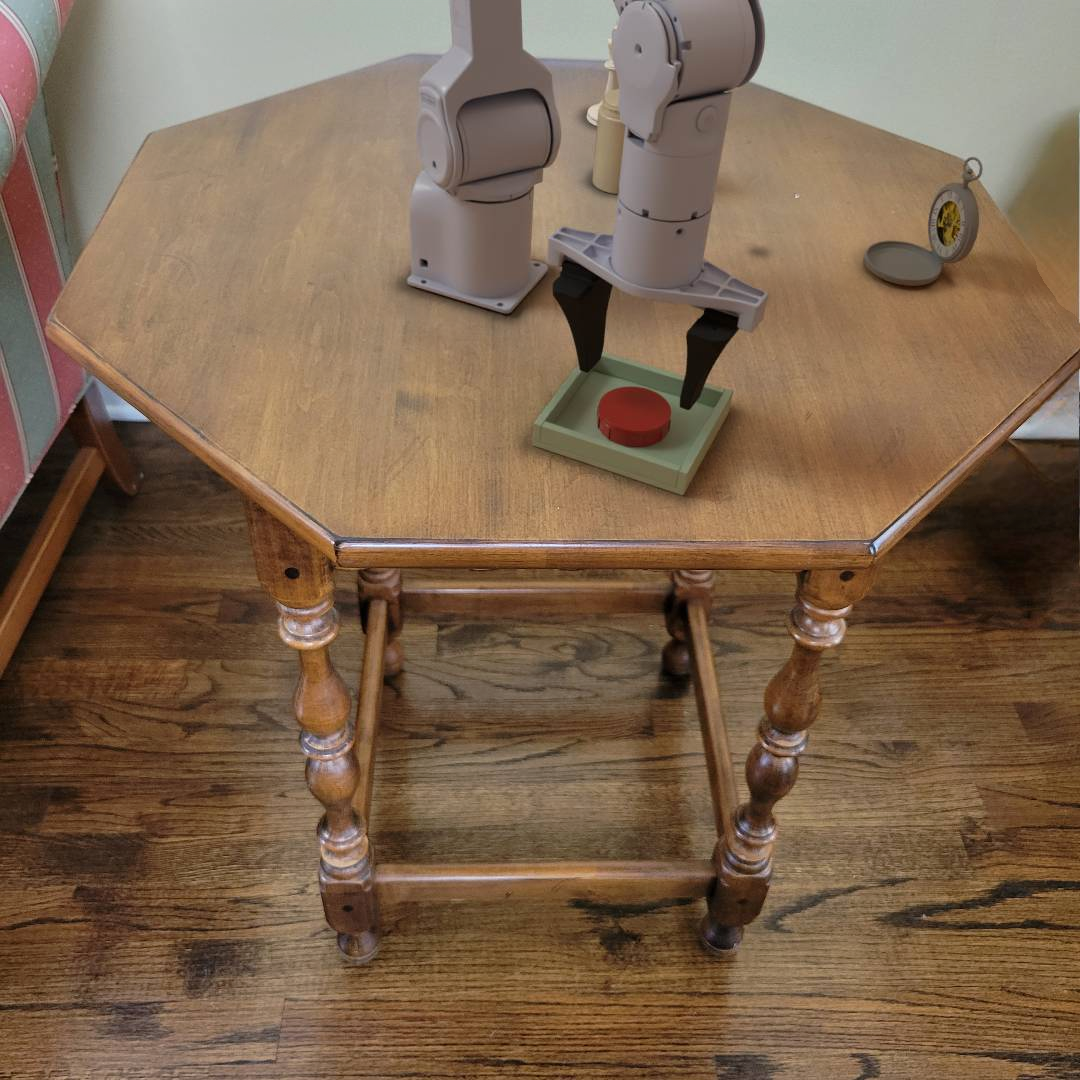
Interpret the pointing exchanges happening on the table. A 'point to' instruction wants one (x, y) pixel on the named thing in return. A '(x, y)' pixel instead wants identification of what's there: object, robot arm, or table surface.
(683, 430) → the tray
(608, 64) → the chess piece
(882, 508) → the table surface
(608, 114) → the jar
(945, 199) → the pocket watch
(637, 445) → the lid
